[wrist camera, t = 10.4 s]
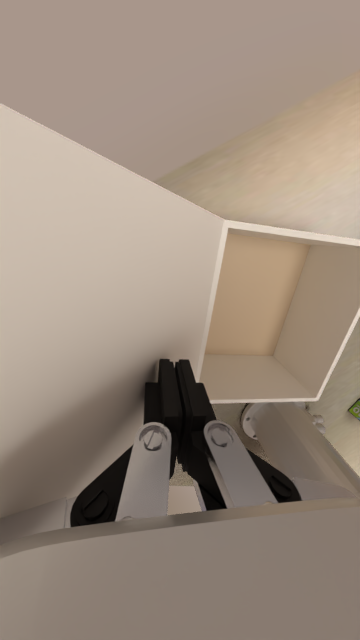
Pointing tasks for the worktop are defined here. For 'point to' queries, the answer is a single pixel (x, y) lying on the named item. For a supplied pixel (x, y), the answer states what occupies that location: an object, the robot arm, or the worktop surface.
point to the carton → (277, 313)
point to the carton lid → (87, 306)
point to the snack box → (356, 410)
